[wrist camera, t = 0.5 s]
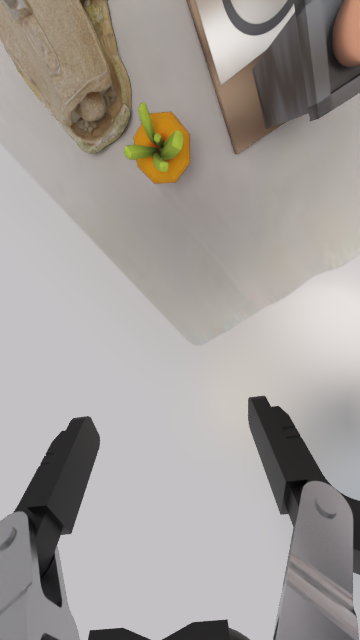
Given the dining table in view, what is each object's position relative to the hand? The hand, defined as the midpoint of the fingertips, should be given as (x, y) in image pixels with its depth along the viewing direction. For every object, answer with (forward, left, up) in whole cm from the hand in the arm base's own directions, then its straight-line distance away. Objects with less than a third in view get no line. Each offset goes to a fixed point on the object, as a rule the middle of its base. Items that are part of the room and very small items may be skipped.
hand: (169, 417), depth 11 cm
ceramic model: (-21, 0, -28) cm, 35 cm away
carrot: (-10, +4, -27) cm, 30 cm away
